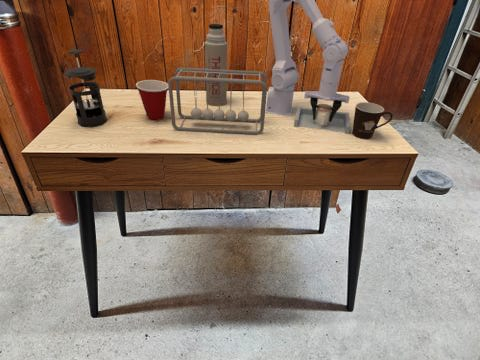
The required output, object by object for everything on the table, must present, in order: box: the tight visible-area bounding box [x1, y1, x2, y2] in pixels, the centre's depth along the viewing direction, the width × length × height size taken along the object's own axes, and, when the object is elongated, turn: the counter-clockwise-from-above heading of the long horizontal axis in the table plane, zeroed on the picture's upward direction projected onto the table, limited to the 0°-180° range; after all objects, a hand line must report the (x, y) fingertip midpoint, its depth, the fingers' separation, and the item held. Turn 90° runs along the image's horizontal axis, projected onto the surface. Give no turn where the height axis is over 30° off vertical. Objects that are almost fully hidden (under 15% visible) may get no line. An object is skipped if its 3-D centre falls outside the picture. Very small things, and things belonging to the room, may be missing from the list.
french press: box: [64, 49, 108, 128], centre depth 102 cm, size 12×9×23 cm
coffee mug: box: [351, 101, 393, 140], centre depth 103 cm, size 12×9×10 cm
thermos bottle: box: [204, 23, 228, 107], centre depth 118 cm, size 8×8×28 cm
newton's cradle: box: [167, 67, 268, 136], centre depth 104 cm, size 30×10×18 cm, turn 87°
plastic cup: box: [135, 79, 169, 122], centre depth 109 cm, size 11×11×12 cm
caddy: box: [293, 106, 351, 135], centre depth 112 cm, size 18×13×3 cm
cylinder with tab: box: [314, 103, 333, 126], centre depth 110 cm, size 5×7×6 cm
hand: (322, 119), depth 112 cm, fingers closed on cylinder with tab, 5 cm apart
